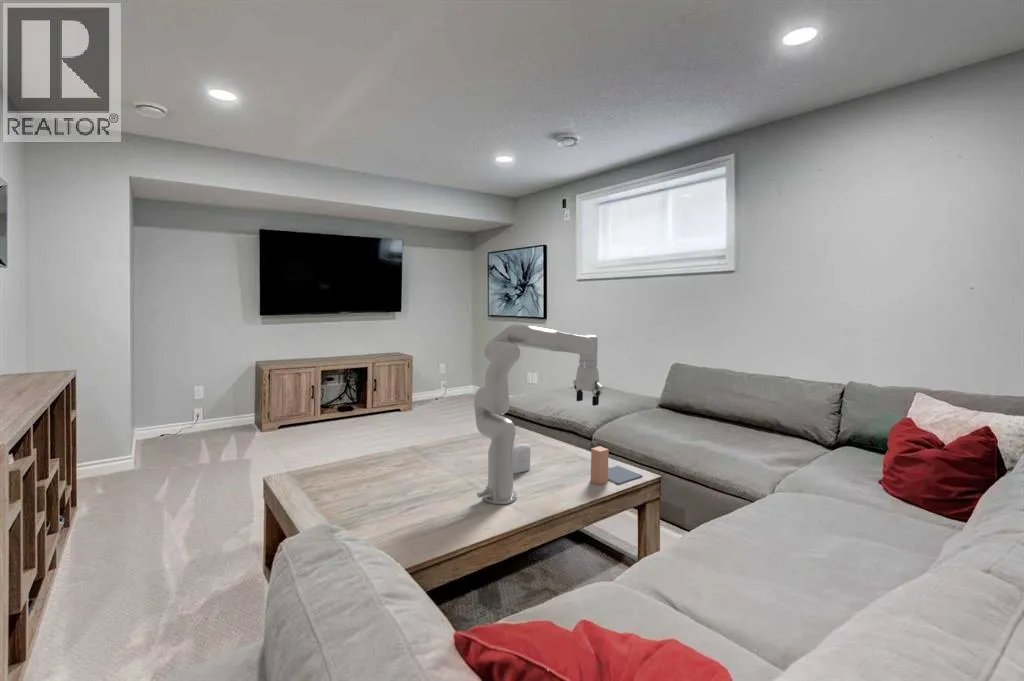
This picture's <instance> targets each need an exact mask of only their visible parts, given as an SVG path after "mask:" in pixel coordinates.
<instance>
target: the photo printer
mask: <svg viewBox="0 0 1024 681" xmlns="http://www.w3.org/2000/svg"><path fill="white" fill-rule="evenodd" d="M530 470H531V447H530V444H528V443H522V442H521V443H516V444H514V445H513V475H514V474H515V475H516V474H519V473H523V472H528V471H530Z"/></svg>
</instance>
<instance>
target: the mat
mask: <svg viewBox="0 0 1024 681" xmlns="http://www.w3.org/2000/svg"><path fill="white" fill-rule="evenodd" d="M639 478H643V475H642V474H640V473H637V472H635V471H632V470H630V469H627V468H625V467H622V466H619V465H616V466H611V467H608V481H609V482H611V483H613V482H614V484H616V485H618V484H619V485H622V484H624V483H625V484H626V483H628V482H631V481H633V480H637V479H639ZM621 483H622V484H621Z"/></svg>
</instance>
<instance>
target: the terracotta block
mask: <svg viewBox="0 0 1024 681" xmlns="http://www.w3.org/2000/svg"><path fill="white" fill-rule="evenodd" d="M590 450H591V451H590V455H591V456H590V482H592V483H594V484H597V485H599V486H600V485H603V484H606V483H608V481H609V480H608V468H609V455H610V454H609V452H610V451H609V449H608V448H605V447H603V446H600V445H598V446H595V447H591V448H590Z"/></svg>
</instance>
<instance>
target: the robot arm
mask: <svg viewBox="0 0 1024 681" xmlns="http://www.w3.org/2000/svg"><path fill="white" fill-rule="evenodd" d="M598 339H599V338H598V336H597V335H595V334H583V335H578V334H573V333H567V332H564V331H560V330H556V329H552V328H551V329H550V328H545V327H539V326H535V325H528V324H518V323H514V324H510V325H509V326H507V327H506V328H504V329H503V330H502V331H501V332H499V333H498V334H497V335H495V336H494V337H493V338H492V339H491V340H489V341H488V342H487V344H486V345H485V346H484V347H485V348H484V352H483V353H484V357H485V358H486V359H487V361H488V362H490V363H489V365H488V367H487V368H486V370H485V375H484V381H485V382H484V385H482V386H481V387H479V388H478V389H477V390H476V392H475V394H474V399H473V401H474V402H473V405H474V406H473V407H474V416H475V424H476V425H475V426H476V427H477V428H476V429H477V430H478V432H479V434H480V435H482V436H484V437H486V438H489V439H490V440H491V441H490V445H489V447H488V452H487V475H488V476H487V486H485V489H484V490H482V491H478V492H476V497H477V498H479V499H480V498H483V499H484V501H486V502H487V503H488V504H489V503H490V504H493V505H506V504H511V503H513V502H515V501H516V500H517V498H518V496H517V492H516V491H515V490H514V474H513V446H514V445H515V444H514V443H515V439H516V434H517V433H516V432H517V430H516V426H515V424H514V423H513V421H512V420H511V419H509V418H508V417H505V416H502V415H505V414H506V413H508V411H509V409H510V393H509V391H510V390H509V374H510V371H511V369H512V368H513V367H514V366H515V365H516V364H517V362H518V361H519V359H520V357H521V350H520V348H519V347H522V348H523V347H524V348H531V349H536V350H537V349H538V350H544V351H550V352H558V353H559V352H561V353H570V354H577V355H579V360H578V363H579V366H577V369H576V375H575V376H576V378H575V380H573V388H574V389H575V392H576V402H582V401H583V398H584V392H583V391H585V392H591V393H592V397H591V398H592V402H591V403H592V404H591V405H592V406H593V407H594V406H598V405H599V403H600V402H599V401H600V396H601V394H602V393H603V390H604V386H603V385H602V384H601V383H600V376H599V374H600V373H599V368H598Z"/></svg>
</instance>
